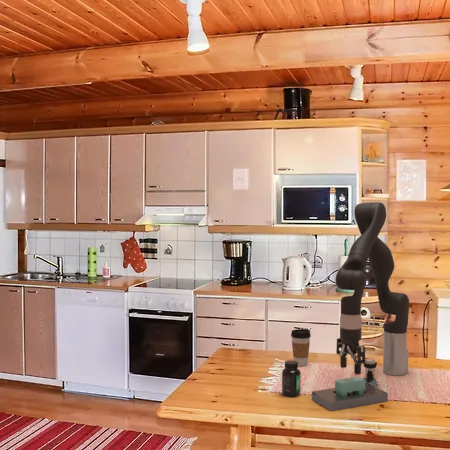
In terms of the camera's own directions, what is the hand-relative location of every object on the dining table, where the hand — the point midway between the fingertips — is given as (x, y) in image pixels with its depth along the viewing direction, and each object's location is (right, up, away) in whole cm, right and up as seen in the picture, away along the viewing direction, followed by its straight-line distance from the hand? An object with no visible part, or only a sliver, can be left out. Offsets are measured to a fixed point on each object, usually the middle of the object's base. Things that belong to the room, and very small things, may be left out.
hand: (350, 370), depth 208 cm
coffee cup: (-12, -9, +44) cm, 47 cm away
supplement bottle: (-20, -11, +7) cm, 24 cm away
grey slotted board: (0, -11, +1) cm, 11 cm away
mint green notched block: (0, -11, 0) cm, 11 cm away
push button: (+12, -10, +16) cm, 23 cm away
